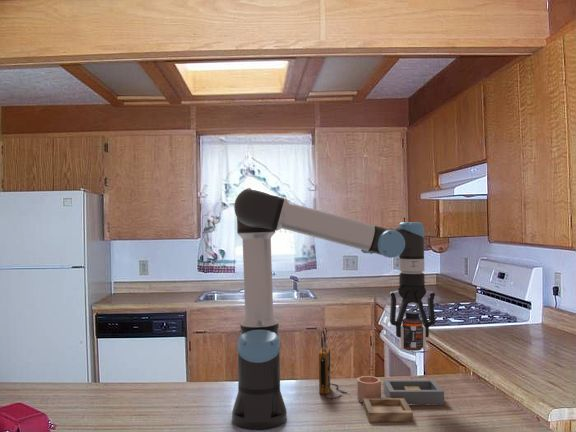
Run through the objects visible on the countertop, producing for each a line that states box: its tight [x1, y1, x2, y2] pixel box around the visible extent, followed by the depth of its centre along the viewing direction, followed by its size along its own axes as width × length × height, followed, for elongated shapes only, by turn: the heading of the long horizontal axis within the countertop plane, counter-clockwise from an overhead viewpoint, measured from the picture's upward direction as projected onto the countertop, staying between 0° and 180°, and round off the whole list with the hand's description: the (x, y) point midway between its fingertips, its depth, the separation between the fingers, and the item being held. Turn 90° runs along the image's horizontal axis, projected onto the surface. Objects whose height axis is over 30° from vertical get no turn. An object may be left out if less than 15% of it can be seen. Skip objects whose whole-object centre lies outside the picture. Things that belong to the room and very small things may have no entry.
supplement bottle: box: [401, 310, 423, 352], centre depth 156 cm, size 6×6×11 cm
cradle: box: [382, 379, 445, 406], centre depth 156 cm, size 16×11×4 cm
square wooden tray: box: [362, 397, 414, 423], centre depth 145 cm, size 12×12×2 cm
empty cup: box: [356, 375, 382, 403], centre depth 156 cm, size 7×7×6 cm
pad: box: [404, 386, 421, 390], centre depth 156 cm, size 4×4×1 cm
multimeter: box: [318, 327, 351, 400], centre depth 163 cm, size 15×10×20 cm
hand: (412, 347), depth 156 cm, fingers closed on supplement bottle, 6 cm apart
